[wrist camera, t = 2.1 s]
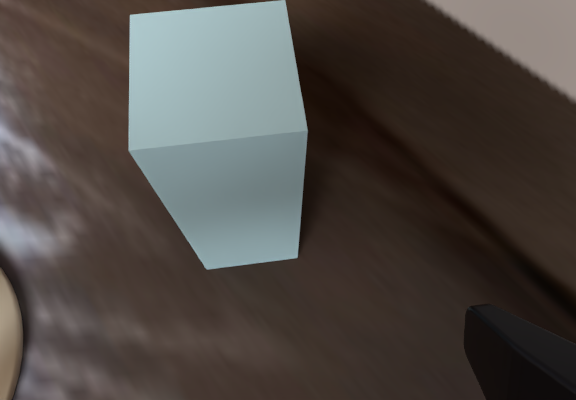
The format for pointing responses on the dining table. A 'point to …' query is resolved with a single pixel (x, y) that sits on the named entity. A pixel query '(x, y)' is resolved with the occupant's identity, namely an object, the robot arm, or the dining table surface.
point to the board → (9, 338)
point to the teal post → (221, 127)
